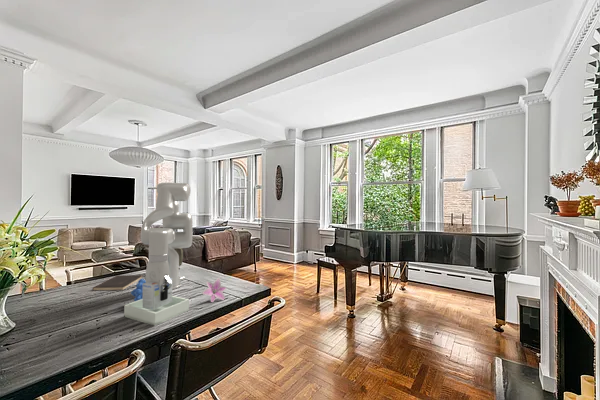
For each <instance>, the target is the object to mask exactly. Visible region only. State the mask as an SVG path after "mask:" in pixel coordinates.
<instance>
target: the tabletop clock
mask: <svg viewBox="0 0 600 400" xmlns="http://www.w3.org/2000/svg"><path fill="white" fill-rule="evenodd" d="M174 250H175V251H176V252H177V253H178V255H179V271H180V270H181V268H180V266H182V265H183V263H184V261H183V259H184V251H183V248H175V249H174Z"/></svg>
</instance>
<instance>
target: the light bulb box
mask: <svg viewBox="0 0 600 400" xmlns="http://www.w3.org/2000/svg"><path fill="white" fill-rule="evenodd" d="M169 279H170V280H171V282H172V281H173V279H172V278H169ZM164 283H165V282H164ZM164 283H163V284H164ZM163 287H165V285H163ZM161 291H162V290H161V286H158V284H157V283H152V282H147V283H143V308H145V309H150V310H155V309H157V308H159V307H161V306H164V305H166V304H168V303H170V302H172V296H173V289H172V285H171V286H170V288H169V290H168V298H167V299H166V300H163V301H161V300H160V295H161Z"/></svg>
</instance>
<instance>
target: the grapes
mask: <svg viewBox="0 0 600 400" xmlns="http://www.w3.org/2000/svg"><path fill="white" fill-rule="evenodd" d="M143 283H146V281H145V278H141V279H140V280H138V281H137V284H136V285H135V288H134V289H133V290H131V291H130V294H131V295H132V296H133V297H134V299H133V302H135V301H138V300H141V299H143Z"/></svg>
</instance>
